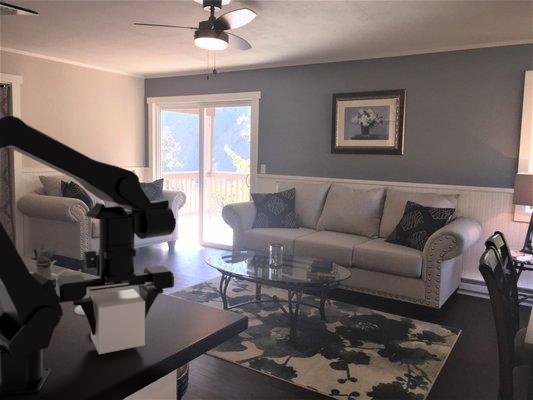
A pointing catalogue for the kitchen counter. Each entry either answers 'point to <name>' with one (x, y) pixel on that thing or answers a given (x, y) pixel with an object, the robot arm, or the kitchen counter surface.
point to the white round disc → (79, 311)
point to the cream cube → (118, 320)
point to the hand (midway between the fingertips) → (117, 330)
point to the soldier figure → (64, 272)
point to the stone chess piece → (45, 264)
